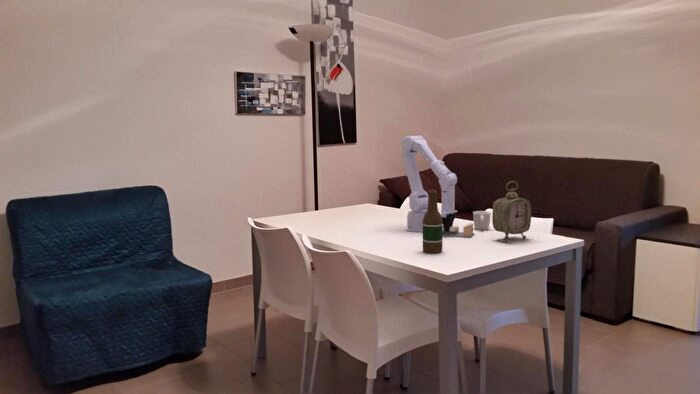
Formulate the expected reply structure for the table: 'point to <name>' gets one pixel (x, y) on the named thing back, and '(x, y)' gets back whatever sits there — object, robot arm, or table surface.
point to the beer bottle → (432, 226)
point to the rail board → (465, 234)
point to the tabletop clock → (511, 214)
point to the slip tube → (452, 230)
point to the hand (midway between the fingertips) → (447, 230)
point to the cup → (481, 220)
